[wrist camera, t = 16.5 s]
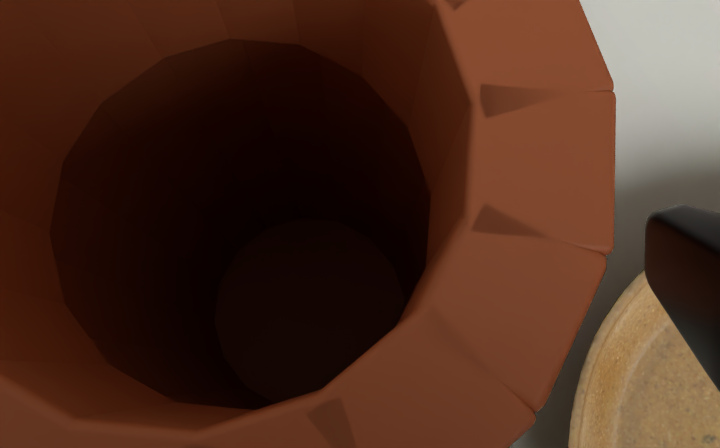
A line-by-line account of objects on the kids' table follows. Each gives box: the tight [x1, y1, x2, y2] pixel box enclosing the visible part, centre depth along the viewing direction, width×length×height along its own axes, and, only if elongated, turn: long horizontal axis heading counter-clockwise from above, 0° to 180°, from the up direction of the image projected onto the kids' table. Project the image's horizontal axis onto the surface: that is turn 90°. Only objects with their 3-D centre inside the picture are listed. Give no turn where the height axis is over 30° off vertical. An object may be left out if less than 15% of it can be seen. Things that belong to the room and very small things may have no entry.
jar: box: [0, 0, 616, 448], centre depth 11 cm, size 6×6×14 cm
